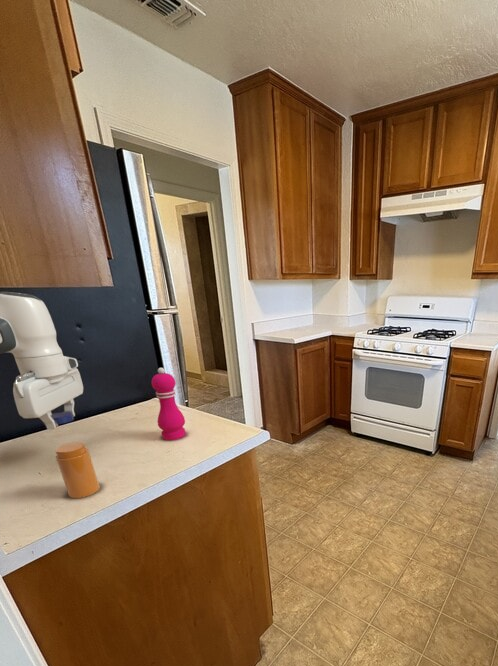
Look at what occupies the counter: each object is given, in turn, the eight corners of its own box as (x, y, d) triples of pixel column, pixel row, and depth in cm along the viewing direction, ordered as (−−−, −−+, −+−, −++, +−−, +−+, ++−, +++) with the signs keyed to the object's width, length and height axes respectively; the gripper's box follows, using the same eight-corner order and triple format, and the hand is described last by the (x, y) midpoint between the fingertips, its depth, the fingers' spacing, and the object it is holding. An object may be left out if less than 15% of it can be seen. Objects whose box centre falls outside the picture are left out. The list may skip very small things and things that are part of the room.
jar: (65, 500, 72) (48, 454, 68) (73, 486, 77) (59, 443, 73) (95, 495, 74) (81, 450, 70) (102, 482, 79) (89, 439, 74)
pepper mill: (187, 429, 107) (175, 363, 99) (187, 438, 100) (174, 369, 93) (161, 433, 104) (146, 366, 96) (160, 442, 98) (144, 371, 90)
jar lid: (79, 418, 89) (78, 411, 89) (60, 425, 83) (58, 418, 83) (56, 418, 90) (55, 412, 89) (36, 425, 84) (34, 419, 83)
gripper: (28, 377, 72) (50, 438, 78) (80, 358, 91) (95, 408, 96) (-5, 378, 72) (19, 440, 77) (54, 359, 90) (70, 410, 96)
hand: (62, 422), depth 87 cm, fingers closed on jar lid, 6 cm apart
